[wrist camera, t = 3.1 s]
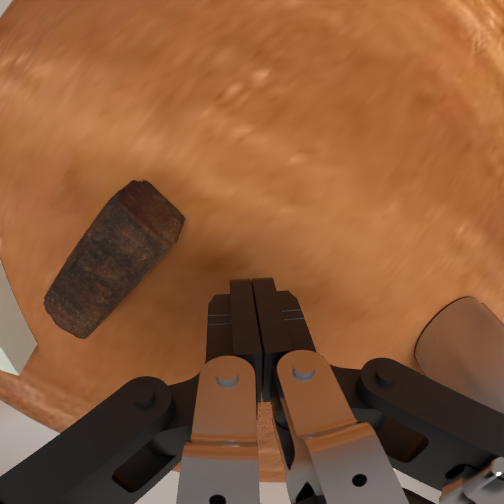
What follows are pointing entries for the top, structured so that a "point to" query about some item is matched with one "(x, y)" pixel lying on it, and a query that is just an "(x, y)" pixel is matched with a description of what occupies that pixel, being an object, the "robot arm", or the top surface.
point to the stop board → (13, 331)
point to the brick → (113, 257)
